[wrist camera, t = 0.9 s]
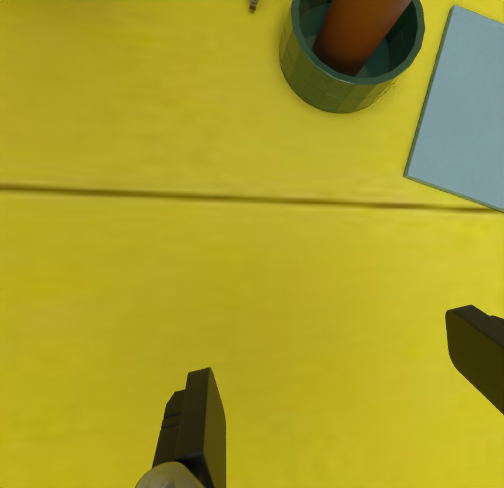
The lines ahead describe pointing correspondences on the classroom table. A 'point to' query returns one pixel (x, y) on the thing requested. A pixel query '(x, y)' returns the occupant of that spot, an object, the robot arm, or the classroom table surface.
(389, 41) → the pot
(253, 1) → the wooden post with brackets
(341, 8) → the bottle
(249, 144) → the classroom table surface
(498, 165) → the mat
